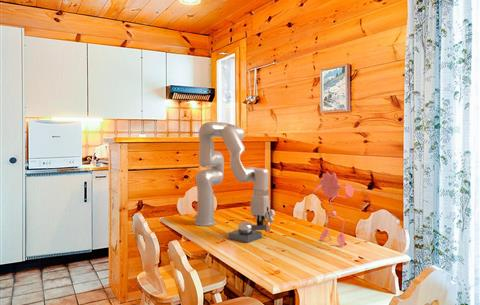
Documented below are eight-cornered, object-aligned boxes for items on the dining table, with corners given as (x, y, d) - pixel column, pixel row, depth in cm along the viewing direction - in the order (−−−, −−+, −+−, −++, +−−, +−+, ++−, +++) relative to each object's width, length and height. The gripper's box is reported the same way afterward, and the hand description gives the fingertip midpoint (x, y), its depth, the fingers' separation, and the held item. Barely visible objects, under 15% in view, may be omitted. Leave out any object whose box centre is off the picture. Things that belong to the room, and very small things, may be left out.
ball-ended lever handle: (239, 233, 177) (239, 224, 177) (237, 230, 184) (237, 221, 184) (271, 232, 180) (271, 224, 180) (268, 229, 187) (268, 220, 187)
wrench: (256, 218, 238) (275, 224, 210) (254, 218, 237) (272, 224, 209) (256, 206, 238) (275, 210, 210) (253, 206, 238) (272, 210, 210)
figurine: (319, 235, 187) (320, 168, 185) (360, 249, 166) (361, 173, 164) (297, 240, 179) (297, 170, 177) (337, 255, 158) (338, 176, 155)
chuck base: (228, 238, 181) (228, 232, 180) (243, 233, 190) (243, 228, 190) (247, 243, 173) (247, 236, 173) (261, 237, 183) (261, 231, 183)
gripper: (245, 191, 188) (244, 226, 189) (266, 195, 176) (265, 232, 177) (255, 190, 193) (255, 223, 194) (276, 194, 181) (275, 229, 182)
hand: (259, 227), depth 185 cm, fingers closed
